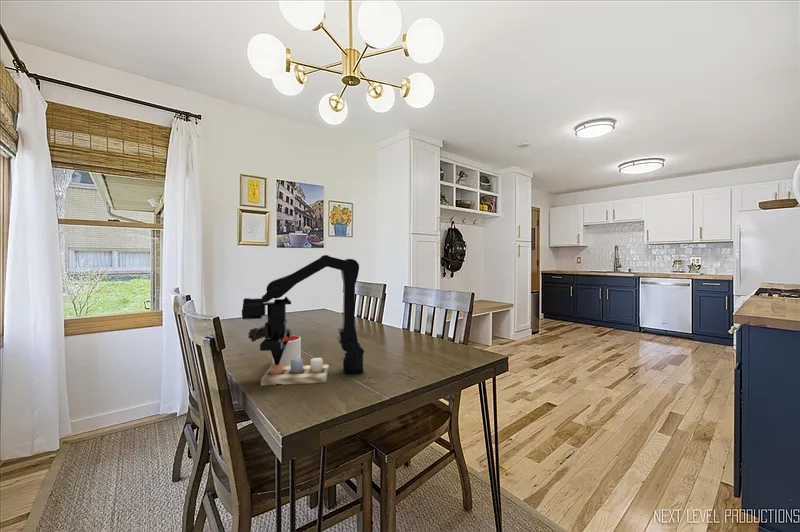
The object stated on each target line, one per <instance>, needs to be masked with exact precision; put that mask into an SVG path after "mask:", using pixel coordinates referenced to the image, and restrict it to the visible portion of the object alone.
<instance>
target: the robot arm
mask: <svg viewBox="0 0 800 532" xmlns="http://www.w3.org/2000/svg"><path fill="white" fill-rule="evenodd" d="M327 267H328V268H331V269H336V270H338V271H340V273H341V278H342V283H343V296H342V297H343V305H342V306H343V307H342V308H343V309H342V310H343V312H342V327H341V328H337V332H338V336H337V341H338V343H339V345H340V347H341V349H342V350H343V351H344V352H345V353H344V357H343V358H342V360H343V361H342V362H343V363H342V365H343V366H342V367H343V369H342V370H343V371H344V375H351V374H352V375H354V374H357V375H358V374H364V354H365V349H364V348H363V346H362V344H360V343H359V341H358V336H357V331H356V326H355V317H356V316H355V313H356V312H355V310H356V309H355V306H356V304H355V303H356V300H355V299H356V283H357V281H358V276H359V272H360V271H359V270H360V263H358V261H357V260H356V259H354V258H345V259H342V258H337V257H333V256H330V255H328V254H324V255H323V254H322V255H321V256H320V257H319V258H317V259H316V260H314V261H312V262H310V263H308V264H307V265H305V266H303V267H302V268H300V269H297V270H296V271H294V272H293V273H290V274H287V275H285V276H282V277H279V278H276V279H273V280H272V281H271V282H269V283H268V284H267V286H266V289H265V290H266V293H265V294H262V296H261V298H258V297H257V298H249V297H245V298H243V300H242V302H243V303H242V309H241V318H242V320H260V319H261V320H262V318H263V317H264V316H266V311H267V321H266V322H265V323H264V325H263V326H260V327H258V328H257V327H254V328H251V329H249V332H248V334H247V335H248V336H247V338H248V339H250V340H251V343H253V342H256V341H257V340H260V339H263V338H264V339H263V341H261V343H259V351H262V352H263V351H264V352H265V351H270V352H271V353H270V354H271V356H273V358H272V360H273V359H274V362H275V365H279V363H280V360H281V358H282V355H283V353H284V350H285V348H286V345H287V343H288V341H284V339H283V338H284V337H285V336H288V338H290V337H291V335H292V330H291V329H289V328H287V326H286V325H287V323H288V319H286V317H287V316H286V315H287V314H286V313H287V312H286V311H287V310H286V309H287V308H286V306H287V305H291V304H292V300H290V298H288V296H285V297H284V298H282V297H283V296H284V295H285V294H287V292H289V291H290V290H291V289H292V288H293V287H295V286H296V285H297V284H299V283H300V282H302V281H304V280H306V279H307V278H309V277H311V276H312V275H315V274H316V273H318V272H319V271H322V270H323V269H325V268H327ZM272 299H274V301H272ZM266 307H267V309H266Z"/></svg>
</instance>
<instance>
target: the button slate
mask: <svg viewBox="0 0 800 532" xmlns="http://www.w3.org/2000/svg"><path fill="white" fill-rule="evenodd" d="M303 366H304V359H303V358H301V359H300V358H297V359H292V360H291V373H292V374H300V373H302V372H303Z"/></svg>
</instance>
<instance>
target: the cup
mask: <svg viewBox="0 0 800 532" xmlns="http://www.w3.org/2000/svg"><path fill="white" fill-rule="evenodd" d="M283 339H284V341H288V343H287V345H286V348H285V350H284V353H283V355H282V358H281V360H280V363H283V366H291V360H292V359H297V358H300V359H302V357H301V354H302V351H301V350H302V349H301V346H302V345H301V343H302V342H301V340H302V339H301V336H299V335H292V334H291V337H290V338H288V336H285V337H284V338H283ZM271 356H272V355H271ZM271 359H272V364H273V363H275V362H274V359H273V356H272V358H271Z"/></svg>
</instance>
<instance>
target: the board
mask: <svg viewBox="0 0 800 532" xmlns="http://www.w3.org/2000/svg"><path fill="white" fill-rule="evenodd" d="M329 371H330V366H329V364H323V371H322V372H321V373H311V364H310V365H308V364H307V365H303V372H302V373H300V374H292V373H291V366H283V375H270V367H269V368H268V369H267V370H266V372H265V373H264V375H263V376H262V377H261V378H260V386H277V385H276V384H282V385H301V384H302V385H304V384H305V385H306V384H324V383H325V384H326V383H327V378H328V376H329V375H328V374H329Z"/></svg>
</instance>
